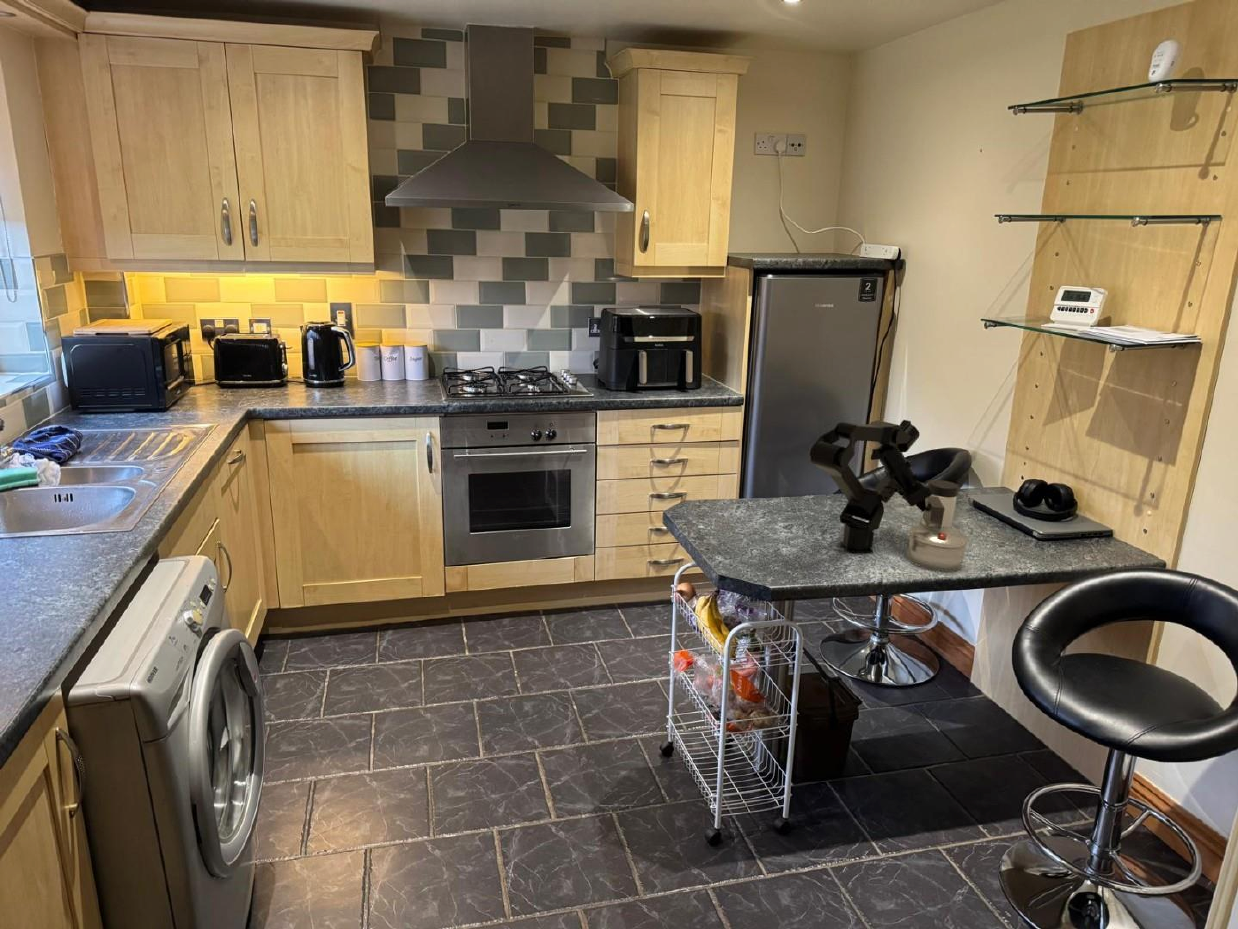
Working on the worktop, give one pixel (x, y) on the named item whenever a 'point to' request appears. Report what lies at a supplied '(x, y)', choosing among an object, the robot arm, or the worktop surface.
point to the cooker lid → (937, 528)
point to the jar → (945, 499)
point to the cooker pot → (935, 556)
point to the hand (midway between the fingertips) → (923, 510)
